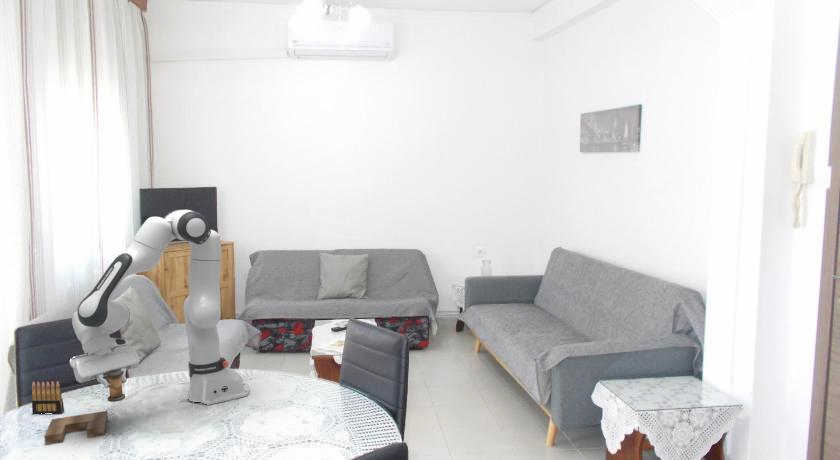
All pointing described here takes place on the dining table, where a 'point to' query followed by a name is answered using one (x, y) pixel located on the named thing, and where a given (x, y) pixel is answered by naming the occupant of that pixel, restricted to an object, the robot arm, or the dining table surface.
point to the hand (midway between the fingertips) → (116, 384)
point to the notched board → (76, 426)
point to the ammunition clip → (47, 399)
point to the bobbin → (115, 386)
